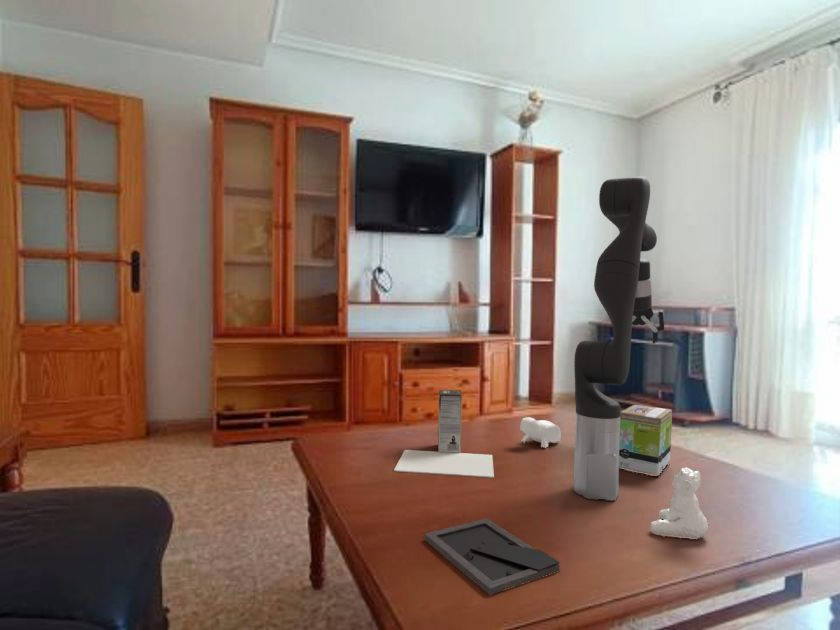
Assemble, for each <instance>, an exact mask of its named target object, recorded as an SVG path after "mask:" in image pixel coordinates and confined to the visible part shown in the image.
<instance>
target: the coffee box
mask: <svg viewBox="0 0 840 630" xmlns="http://www.w3.org/2000/svg"><path fill="white" fill-rule="evenodd" d="M438 393H439V394H438V417H437V418H438V420H437V421H438V423H437V424H438V426H437V445H438V446H437V448H438V451H437V452H449V453H461V452H462V451H461V450H462V449H461V448H462V447H461V445H462V410H463V408H462V407H463V401H462V400H463V393H462V391H461V390H460V389H439V391H438Z"/></svg>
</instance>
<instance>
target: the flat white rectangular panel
mask: <svg viewBox="0 0 840 630" xmlns="http://www.w3.org/2000/svg"><path fill="white" fill-rule="evenodd" d="M393 472H398V473H400V472H401V473H415V474H428V475H429V474H430V475H431V474H432V475H444V476H445V475H446V476H457V477H458V476H459V477H461V476H462V477H476V478H490V479H491V478H493V479H494V478H495V475H494V473H495V471H494V459H493V454H481V453H465V452H460V453H449V452H438V451H434V450H433V451H431V450H419V449H418V450H416V449H415V450H412V449H404V451H403V453H402V454H401V457H400V459H399V460H398V461H397V464H396V466H395V467H394V470H393Z"/></svg>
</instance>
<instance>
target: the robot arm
mask: <svg viewBox="0 0 840 630" xmlns="http://www.w3.org/2000/svg"><path fill="white" fill-rule="evenodd" d="M650 200H651V185H650V181H649V179H648V178H647V177H646V176H629V177H628V176H627V177H617V178H609V179H606V180H604V181H603V182H602V184H601V187H600V189H599V197H598V201H599V202H598V203H599V205H598V206H599V208H600V211H601V213H602V215H603V216H604V217H605V218H606V219H607V220H608V221H609V222H611V223H612V225H614V226H616V228H617V229H618V231H619V233H618V235H617V236H616V237H615V238H614V239H613V240H612V242H610V244H608V246H607V247H606V248H605V249H604V250H603V252H602V253H601V254H600V255H599V257H598V260H597V262H596V263H597V264H596V267H595V276H594V281H593V288H594V292H595V295H596V296H597V299H598V300H599V301H600V303H601V306H602V307H603V309H604V311H605V312H606V315H607V316H608V319H609V320H610V323H611V326H612V331H613V333H612V334H613V335H612V337H613V338H612V341H601V340H581V341H580V342H579V343H578V344H577V346H576V348H575V351H574V352H575V353H574V358H573V360H574V362H573V363H574V364H573V365H574V366H573V367H574V400H575V417H574V418H575V419H574V421H575V425H574V426H575V427H574V454H573V455H574V458H573V459H574V462H573V463H574V465H573V490H574V492H575V493H577V494H578V495H581V496H582V495H583V496H582V497H583V498H585V499H586V498H588V500H598V499H606V500H605V501H613V500H616V501H617V498H618V497H619V480H620V479H619V478H620V475H619V474H620V469H619V445H620V412H621V411H622V410H621V408H622V407H621V404H620V403H619V401H616V400H615V399H613V398H610V397H608V395H607V396H606V395H605V394H603V393H602V392H601V391H600V390H599V389H597V387H596V384H601V385H610V386H611V385H612V386H622V385H623V384H625V382H627V378H628V376H629V372H630V365H631V353H632V352H631V350H632V349H631V348H632V347H631V346H632V329H633V326H638V325H639V326H645V325H647V327H649V328H650V329H651V331H652V344H653V345H654V344H656V343H657V342H658V341H659V340H658V336H659V332H661V331H664V330H665V320H664V312H663V311H664V310H662V309H659V310H653V308H652V307H653V306H652V303H653V302H652V299H653V297H652V282H651V280H652V279H651V263H650V261H649V260H648V259H646V258H641V253H642V252H643V253H644V252H649V251H652V250H653V249H654V248H655V247H656V245H657V242H658V241H657V240H658V237H657V233H656V231H655V229H654V228H653V227H652V226H651V225H650V224H648V223H646V219H647V216H648V215H647V214H648V210H649V205H650ZM653 316H655V318H656V319H658V321H659V325H656V324H655V323H654V321H653V320H652V318H653ZM617 496H618V497H617ZM616 497H617V498H616Z"/></svg>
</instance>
